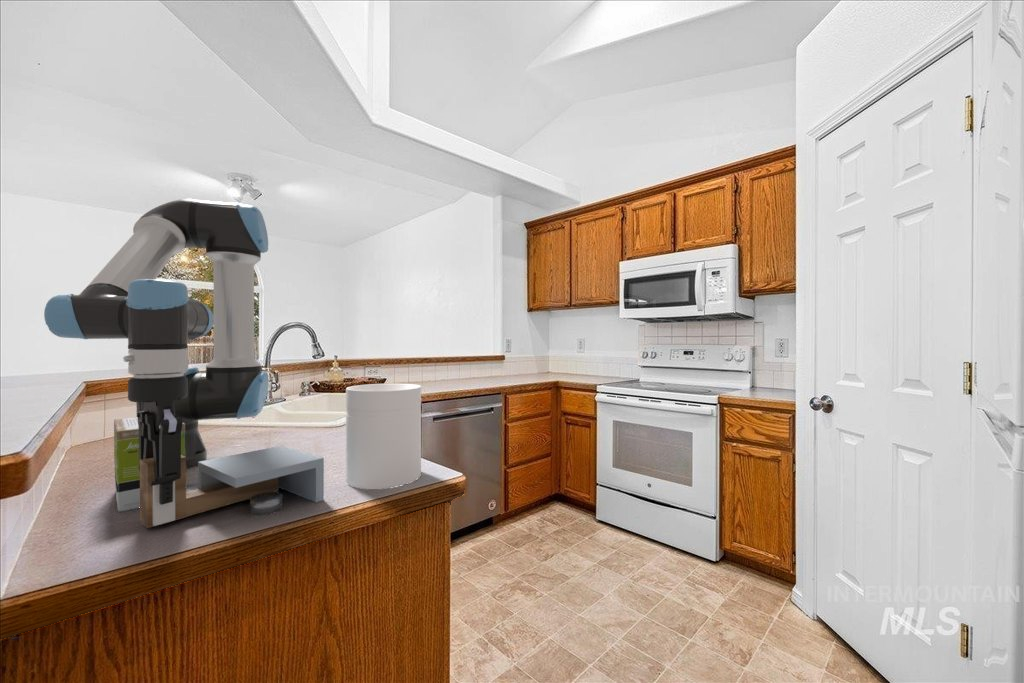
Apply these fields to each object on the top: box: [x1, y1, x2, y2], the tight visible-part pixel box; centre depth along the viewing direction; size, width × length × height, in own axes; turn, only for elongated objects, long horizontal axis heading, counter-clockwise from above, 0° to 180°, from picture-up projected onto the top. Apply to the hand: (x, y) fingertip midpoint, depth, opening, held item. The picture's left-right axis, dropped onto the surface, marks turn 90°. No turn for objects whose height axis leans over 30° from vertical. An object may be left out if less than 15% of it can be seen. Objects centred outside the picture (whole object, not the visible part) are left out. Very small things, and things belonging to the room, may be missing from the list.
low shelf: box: [197, 445, 325, 503], centre depth 79 cm, size 16×15×8 cm
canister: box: [345, 382, 422, 490], centre depth 94 cm, size 16×16×20 cm
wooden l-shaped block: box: [139, 455, 279, 528], centre depth 76 cm, size 4×20×10 cm, turn 144°
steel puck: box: [249, 491, 283, 516], centre depth 76 cm, size 5×5×2 cm
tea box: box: [113, 416, 186, 513], centre depth 83 cm, size 15×10×15 cm, turn 45°
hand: (159, 518), depth 69 cm, fingers closed on wooden l-shaped block, 4 cm apart
